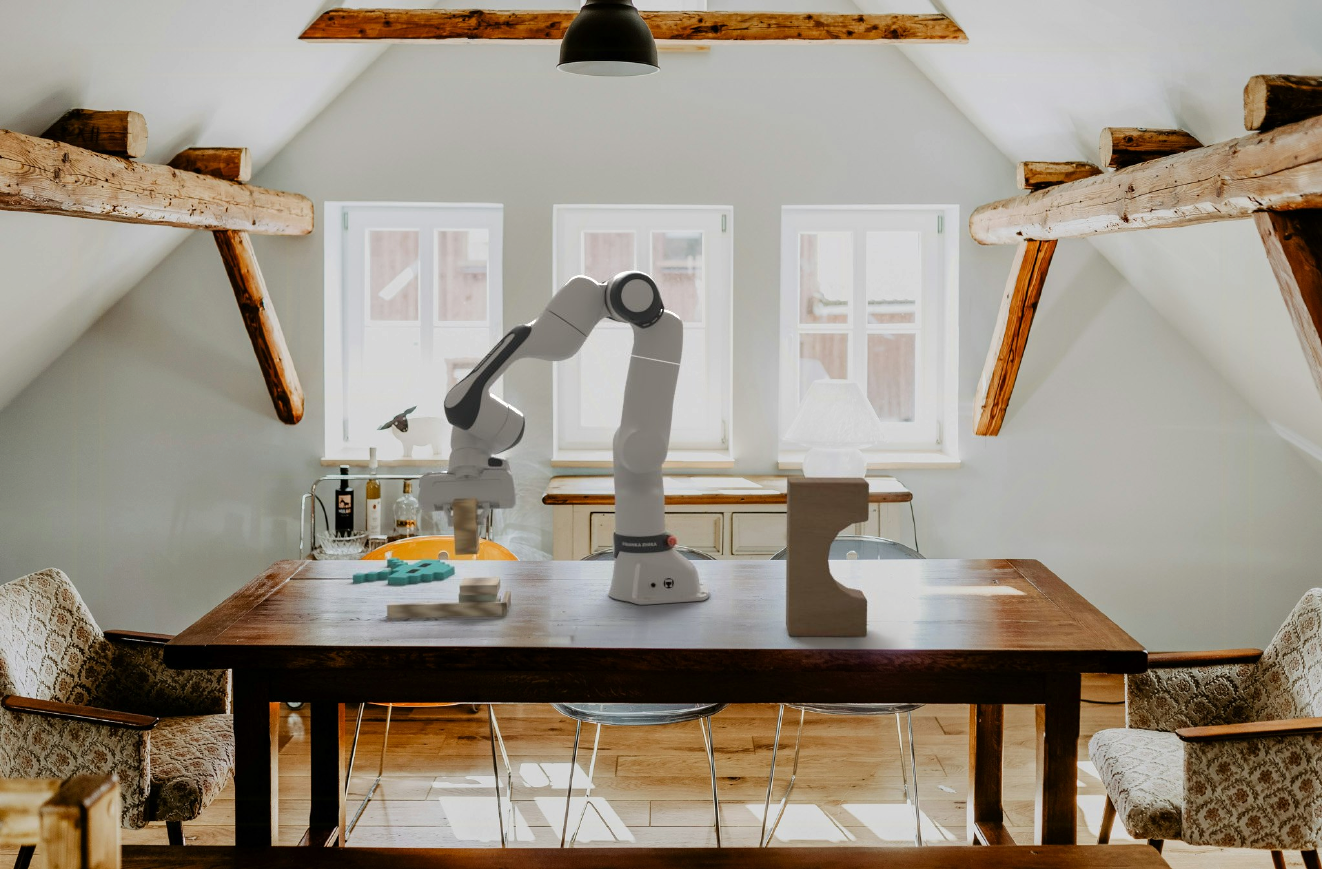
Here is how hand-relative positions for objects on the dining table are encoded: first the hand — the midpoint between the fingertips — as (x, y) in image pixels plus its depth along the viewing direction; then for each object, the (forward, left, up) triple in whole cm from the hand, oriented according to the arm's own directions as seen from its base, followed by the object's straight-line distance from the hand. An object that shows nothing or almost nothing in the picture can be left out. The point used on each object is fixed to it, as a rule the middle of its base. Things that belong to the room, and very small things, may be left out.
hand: (465, 524), depth 215 cm
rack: (+4, -1, -19) cm, 20 cm away
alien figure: (+19, -40, -20) cm, 48 cm away
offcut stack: (-2, -1, -18) cm, 18 cm away
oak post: (0, -1, -6) cm, 6 cm away
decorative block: (-71, +16, -19) cm, 76 cm away
